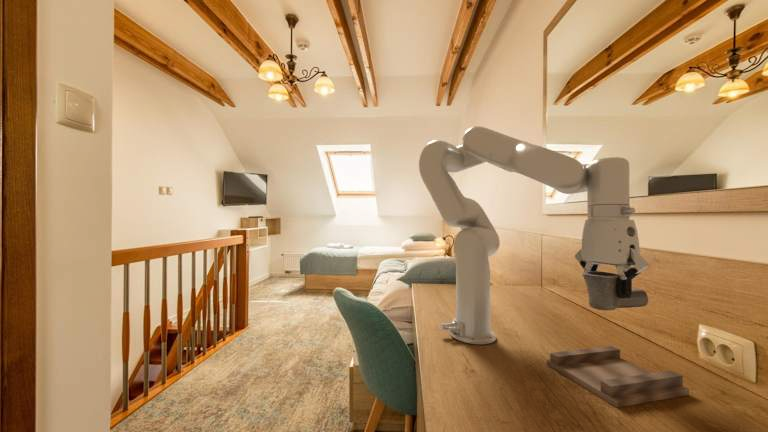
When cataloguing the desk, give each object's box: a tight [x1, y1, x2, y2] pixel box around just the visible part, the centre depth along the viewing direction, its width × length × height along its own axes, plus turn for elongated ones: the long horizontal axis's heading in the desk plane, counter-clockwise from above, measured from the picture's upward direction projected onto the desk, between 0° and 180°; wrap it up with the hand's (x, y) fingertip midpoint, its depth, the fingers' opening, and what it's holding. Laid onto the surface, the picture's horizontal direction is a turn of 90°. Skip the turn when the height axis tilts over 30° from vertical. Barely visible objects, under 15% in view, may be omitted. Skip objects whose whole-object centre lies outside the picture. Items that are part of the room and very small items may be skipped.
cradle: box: [546, 345, 690, 408], centre depth 62 cm, size 18×16×3 cm
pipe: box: [582, 270, 649, 311], centre depth 65 cm, size 6×13×8 cm, turn 88°
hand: (607, 293), depth 65 cm, fingers closed on pipe, 6 cm apart
